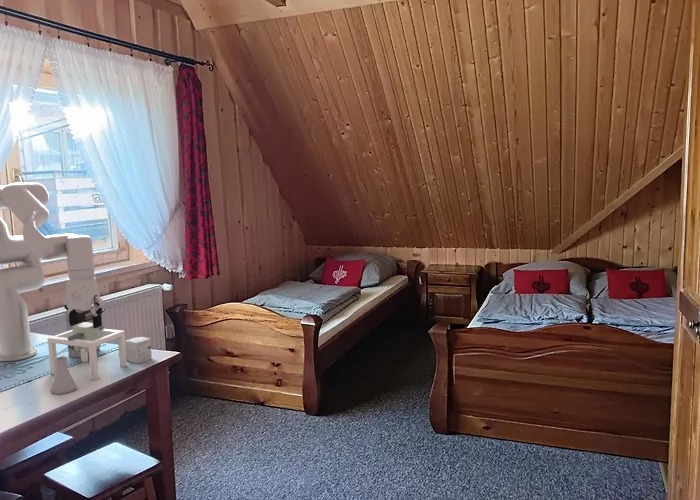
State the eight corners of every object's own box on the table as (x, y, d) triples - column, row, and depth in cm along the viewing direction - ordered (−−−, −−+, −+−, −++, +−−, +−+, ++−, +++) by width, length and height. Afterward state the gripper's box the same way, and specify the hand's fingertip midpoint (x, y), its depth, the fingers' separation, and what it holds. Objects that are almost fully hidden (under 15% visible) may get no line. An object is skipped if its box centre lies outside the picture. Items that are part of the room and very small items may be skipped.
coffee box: (84, 357, 196) (80, 312, 194) (68, 356, 198) (64, 312, 195) (100, 349, 205) (97, 306, 203) (85, 348, 207) (81, 305, 204)
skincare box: (137, 364, 189) (135, 343, 188) (125, 361, 192) (124, 340, 191) (152, 358, 194) (150, 338, 193) (140, 355, 198) (139, 335, 196)
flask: (70, 383, 172) (68, 352, 171) (81, 389, 168) (79, 357, 166) (46, 391, 167) (43, 358, 166) (56, 397, 162) (53, 363, 161)
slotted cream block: (74, 350, 182) (72, 326, 181) (86, 345, 187) (84, 322, 185) (88, 351, 180) (86, 327, 179) (100, 347, 185) (98, 323, 183)
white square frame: (50, 374, 181) (47, 334, 179) (84, 360, 194) (81, 322, 192) (95, 380, 175) (91, 339, 173) (126, 365, 188) (124, 327, 186)
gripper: (51, 274, 179) (56, 326, 182) (93, 277, 173) (98, 331, 176) (70, 270, 186) (74, 320, 189) (111, 273, 180) (115, 325, 183)
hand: (85, 325), depth 182 cm, fingers open, 9 cm apart
